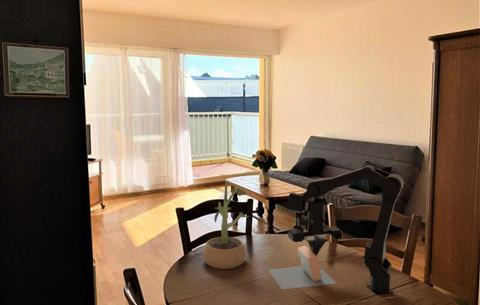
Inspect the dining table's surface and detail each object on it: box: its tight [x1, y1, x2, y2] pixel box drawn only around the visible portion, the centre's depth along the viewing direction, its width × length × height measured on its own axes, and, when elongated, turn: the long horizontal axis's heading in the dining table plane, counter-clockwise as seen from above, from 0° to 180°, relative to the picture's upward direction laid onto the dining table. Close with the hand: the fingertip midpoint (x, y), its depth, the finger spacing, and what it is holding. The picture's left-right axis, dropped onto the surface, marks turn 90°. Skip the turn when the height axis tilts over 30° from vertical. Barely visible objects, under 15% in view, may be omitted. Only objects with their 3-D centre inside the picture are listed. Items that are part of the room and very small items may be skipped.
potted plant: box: [202, 182, 250, 270], centre depth 155 cm, size 22×18×30 cm
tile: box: [297, 245, 322, 282], centre depth 141 cm, size 10×3×9 cm, turn 13°
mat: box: [267, 265, 338, 290], centre depth 141 cm, size 16×20×1 cm
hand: (314, 256), depth 141 cm, fingers closed
